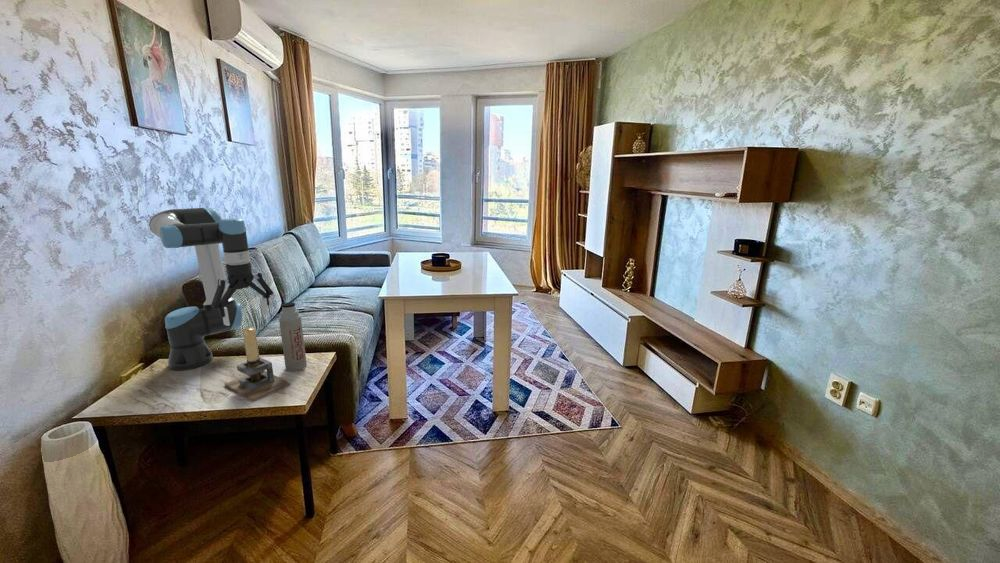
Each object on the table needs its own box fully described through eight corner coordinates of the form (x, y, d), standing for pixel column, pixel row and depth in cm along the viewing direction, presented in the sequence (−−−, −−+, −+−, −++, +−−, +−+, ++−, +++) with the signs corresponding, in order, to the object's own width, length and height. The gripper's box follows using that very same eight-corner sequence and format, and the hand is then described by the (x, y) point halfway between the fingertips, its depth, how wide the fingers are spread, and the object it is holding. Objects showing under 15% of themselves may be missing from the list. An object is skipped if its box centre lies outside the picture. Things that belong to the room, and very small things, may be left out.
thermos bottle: (309, 367, 170) (301, 304, 163) (288, 373, 165) (279, 308, 158) (303, 361, 176) (296, 299, 169) (283, 366, 171) (274, 303, 164)
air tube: (248, 383, 155) (239, 329, 149) (259, 379, 158) (251, 326, 152) (254, 386, 153) (245, 332, 147) (265, 382, 156) (257, 328, 150)
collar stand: (224, 385, 155) (220, 364, 153) (261, 371, 167) (258, 351, 164) (252, 401, 145) (248, 378, 142) (290, 384, 156) (287, 363, 154)
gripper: (203, 271, 131) (214, 332, 137) (278, 258, 152) (285, 311, 157) (192, 267, 135) (203, 327, 141) (267, 255, 155) (274, 308, 161)
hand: (247, 319), depth 149 cm, fingers open, 13 cm apart
